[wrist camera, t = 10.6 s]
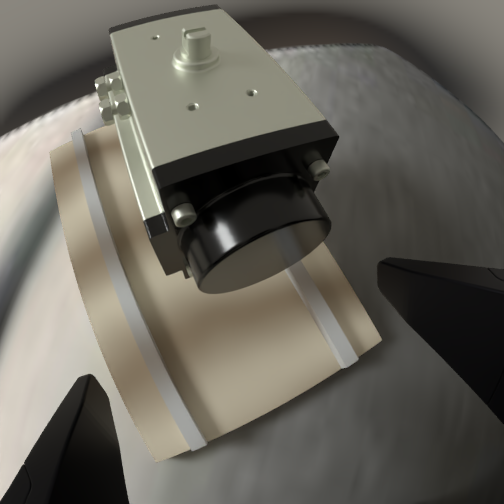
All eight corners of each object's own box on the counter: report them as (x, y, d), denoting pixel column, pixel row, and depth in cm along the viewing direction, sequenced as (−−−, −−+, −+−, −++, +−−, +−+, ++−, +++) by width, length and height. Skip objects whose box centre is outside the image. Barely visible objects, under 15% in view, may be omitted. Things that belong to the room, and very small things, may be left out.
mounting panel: (373, 342, 18) (388, 337, 16) (160, 457, 14) (153, 466, 12) (214, 98, 24) (214, 80, 22) (55, 161, 21) (45, 145, 19)
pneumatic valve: (206, 141, 21) (207, -25, 10) (286, 296, 17) (391, 149, 6) (129, 167, 19) (82, 3, 8) (190, 337, 16) (123, 238, 5)
